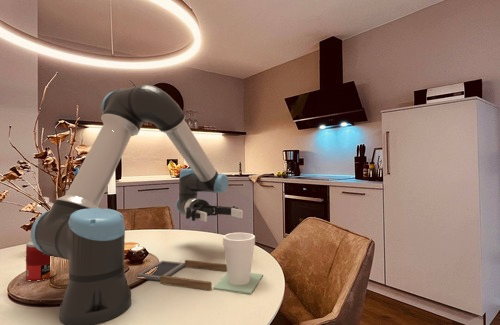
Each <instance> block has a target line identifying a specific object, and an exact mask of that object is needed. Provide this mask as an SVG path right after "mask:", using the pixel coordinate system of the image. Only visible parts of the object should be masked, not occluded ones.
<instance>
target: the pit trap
mask: <svg viewBox="0 0 500 325" xmlns="http://www.w3.org/2000/svg"><path fill="white" fill-rule="evenodd" d="M157 266H158V268H157V270H156V271H155V272H154V273H153V274H152V275H148V274H145V273H147V272H149V271H150V270H151V269H153V268H155V267H157ZM183 268H186V267H185V262H178V261H170V260H161V261H159V262H157V263H155V264H153V265H151V266H150V267H148V268H146V269H145V270H143V271H140V272H139V273H137V274H136V278H137V277H146V281H154V282H158V283H160V276H162V275H164V276H172V277H173V275H175V274H176V273H177V272H179V271H181V270H182V269H183Z"/></svg>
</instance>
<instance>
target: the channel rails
mask: <svg viewBox="0 0 500 325" xmlns="http://www.w3.org/2000/svg"><path fill="white" fill-rule="evenodd" d="M184 263H185V267H184V268H194V269H201V270H202V269H203V270H209V271H210V270H211V271H220V272H227V266H226V263H221V262H220V263H218V262H211V261H210V262H209V261H200V260H193V259H185V260H184ZM159 284H160V285H161V284H162V285H168V286H175V287H183V288H190V289H198V290H204V291H211V290H212V289H213V288H212V286H213V285H212V284H213V283H212V281H210V280H209V281H208V280H201V279H195V278H194V279H193V278H186V277H185V278H184V277H178V276H173V275H172V276H164V275H162V276H160V282H159Z"/></svg>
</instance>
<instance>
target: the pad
mask: <svg viewBox="0 0 500 325" xmlns="http://www.w3.org/2000/svg"><path fill="white" fill-rule="evenodd" d="M262 276H263V277H264V274H263V273H257V272H256V273H254V272H251V274H250V282H248V283H247V284H244V285H233V284H231V283H229V281H228V274H227V273H226V274H225V275H224V276H223V277H221V279H220V280H219V281H218V282H217V283H216V284H215V285H214V286H213V288H212V289H213V290H214V291H215V290H217V291H222V292H230V293H237V294H245V295H251V296H252V295H253V292H254V291H255V289H256V288H257V286H258V285H259V283H260V281H261V280H262V278H263V277H262Z"/></svg>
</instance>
